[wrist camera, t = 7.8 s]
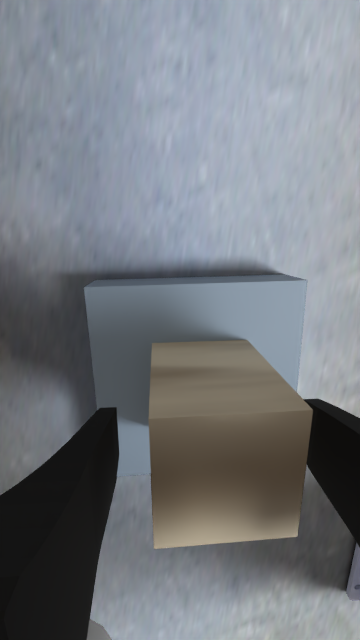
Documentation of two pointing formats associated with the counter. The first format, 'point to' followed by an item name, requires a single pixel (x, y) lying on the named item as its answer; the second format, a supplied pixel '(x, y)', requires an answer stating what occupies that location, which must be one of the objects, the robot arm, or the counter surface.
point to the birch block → (223, 445)
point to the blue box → (182, 337)
